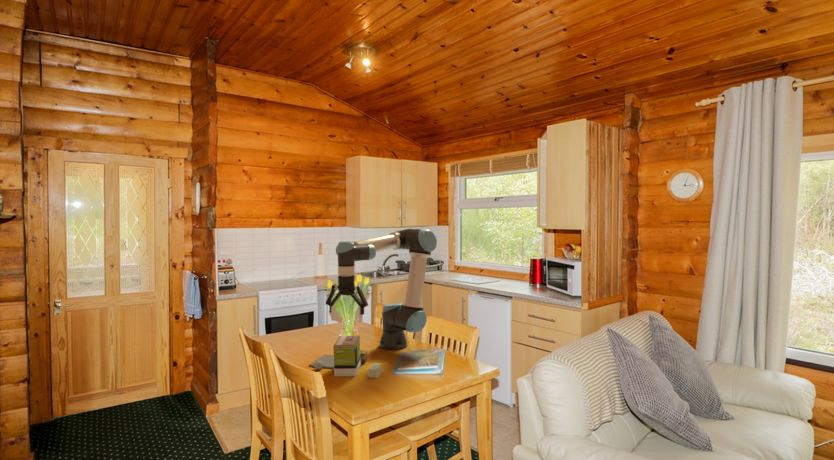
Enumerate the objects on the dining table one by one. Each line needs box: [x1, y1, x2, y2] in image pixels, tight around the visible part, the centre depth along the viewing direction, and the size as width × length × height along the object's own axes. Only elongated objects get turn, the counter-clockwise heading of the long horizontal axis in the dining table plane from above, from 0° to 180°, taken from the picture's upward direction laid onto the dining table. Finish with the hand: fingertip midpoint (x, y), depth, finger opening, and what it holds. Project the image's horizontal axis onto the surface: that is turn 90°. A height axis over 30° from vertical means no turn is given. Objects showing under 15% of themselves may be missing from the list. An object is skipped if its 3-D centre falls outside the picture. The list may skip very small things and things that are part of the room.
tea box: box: [333, 335, 362, 377], centre depth 214 cm, size 15×10×15 cm
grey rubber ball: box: [313, 361, 323, 370], centre depth 216 cm, size 4×4×4 cm
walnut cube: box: [360, 349, 368, 365], centre depth 227 cm, size 5×5×5 cm
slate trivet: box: [308, 354, 334, 370], centre depth 227 cm, size 13×16×1 cm
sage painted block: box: [367, 362, 383, 379], centre depth 210 cm, size 4×8×4 cm, turn 169°
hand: (346, 320), depth 213 cm, fingers open, 13 cm apart
